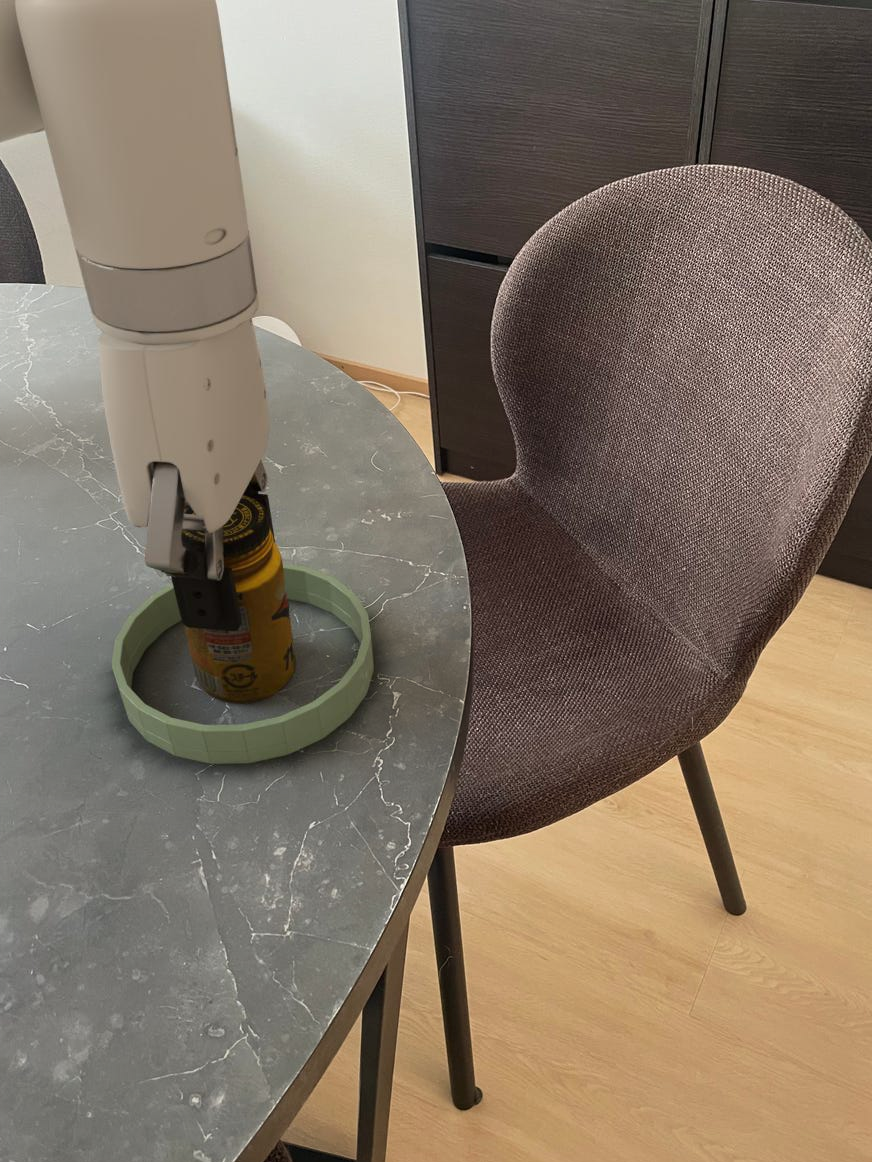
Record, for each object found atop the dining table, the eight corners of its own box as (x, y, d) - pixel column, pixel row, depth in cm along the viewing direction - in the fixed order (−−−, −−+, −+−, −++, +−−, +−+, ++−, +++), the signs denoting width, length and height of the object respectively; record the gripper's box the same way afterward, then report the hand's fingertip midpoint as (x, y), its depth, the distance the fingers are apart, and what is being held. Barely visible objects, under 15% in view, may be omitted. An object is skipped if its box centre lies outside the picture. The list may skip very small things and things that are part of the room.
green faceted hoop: (87, 767, 59) (69, 718, 57) (176, 599, 71) (165, 552, 68) (345, 792, 58) (338, 743, 55) (394, 617, 69) (391, 570, 67)
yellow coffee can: (323, 656, 65) (305, 496, 57) (257, 750, 59) (226, 587, 51) (222, 628, 67) (190, 470, 59) (147, 717, 61) (101, 554, 53)
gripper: (158, 206, 54) (214, 497, 66) (4, 360, 41) (110, 686, 53) (299, 214, 53) (331, 506, 65) (188, 372, 40) (253, 700, 52)
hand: (231, 584), depth 59 cm, fingers closed on yellow coffee can, 6 cm apart
